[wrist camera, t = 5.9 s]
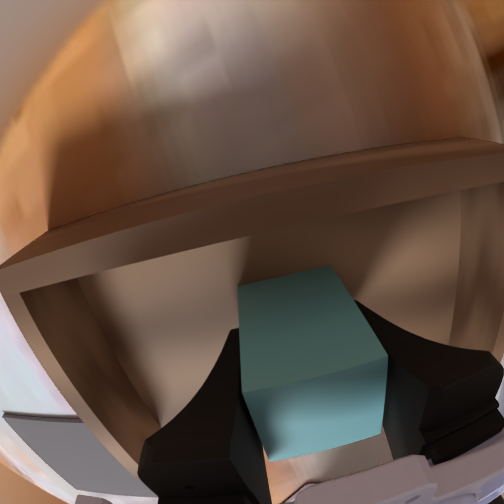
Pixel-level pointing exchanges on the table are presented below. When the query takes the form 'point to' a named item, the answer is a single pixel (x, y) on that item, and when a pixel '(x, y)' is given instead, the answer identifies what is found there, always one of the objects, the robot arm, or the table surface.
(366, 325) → the teal block
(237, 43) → the table surface
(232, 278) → the walnut box
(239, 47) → the table surface
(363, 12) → the table surface
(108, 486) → the charcoal mat
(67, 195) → the table surface
